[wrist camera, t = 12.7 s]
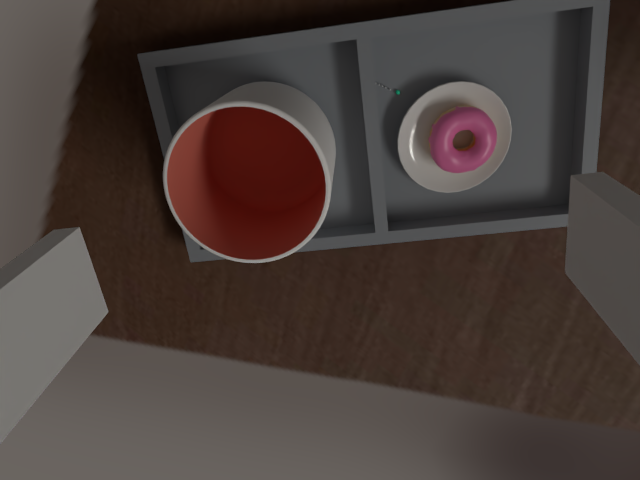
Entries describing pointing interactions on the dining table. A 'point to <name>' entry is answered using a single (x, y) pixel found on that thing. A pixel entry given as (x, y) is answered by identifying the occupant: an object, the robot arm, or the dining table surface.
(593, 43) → the carrier tray
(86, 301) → the robot arm
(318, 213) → the cup
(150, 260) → the dining table surface
